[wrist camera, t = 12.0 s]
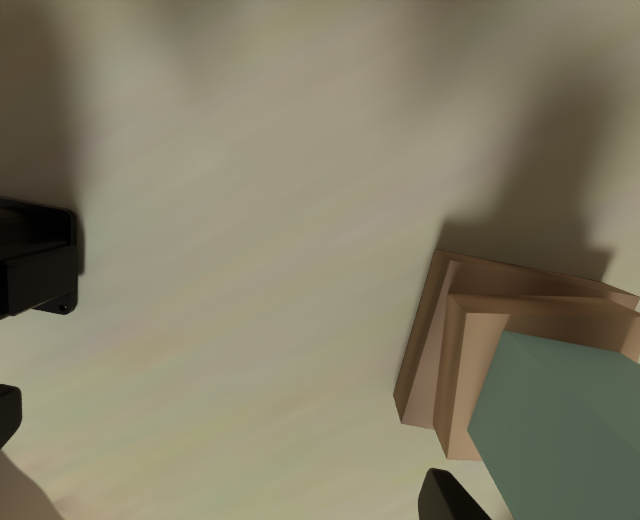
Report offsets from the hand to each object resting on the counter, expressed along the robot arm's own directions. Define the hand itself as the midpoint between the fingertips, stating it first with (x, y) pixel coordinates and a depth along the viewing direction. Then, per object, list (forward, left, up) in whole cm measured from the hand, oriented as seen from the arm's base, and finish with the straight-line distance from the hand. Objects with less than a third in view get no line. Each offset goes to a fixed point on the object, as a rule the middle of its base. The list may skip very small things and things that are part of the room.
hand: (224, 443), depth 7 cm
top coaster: (+13, -2, -11) cm, 17 cm away
